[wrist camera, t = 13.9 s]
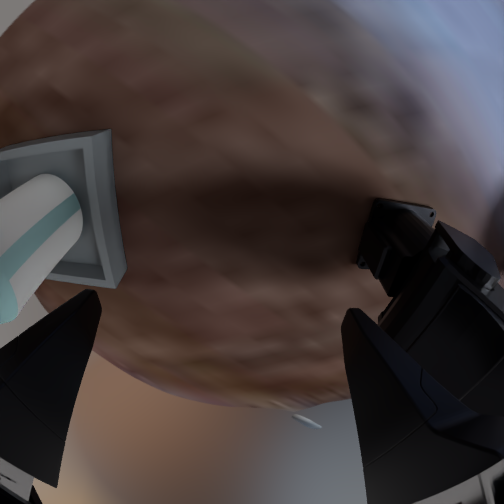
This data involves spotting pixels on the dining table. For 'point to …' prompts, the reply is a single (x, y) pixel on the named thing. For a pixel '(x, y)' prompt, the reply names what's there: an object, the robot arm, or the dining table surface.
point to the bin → (87, 192)
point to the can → (34, 237)
